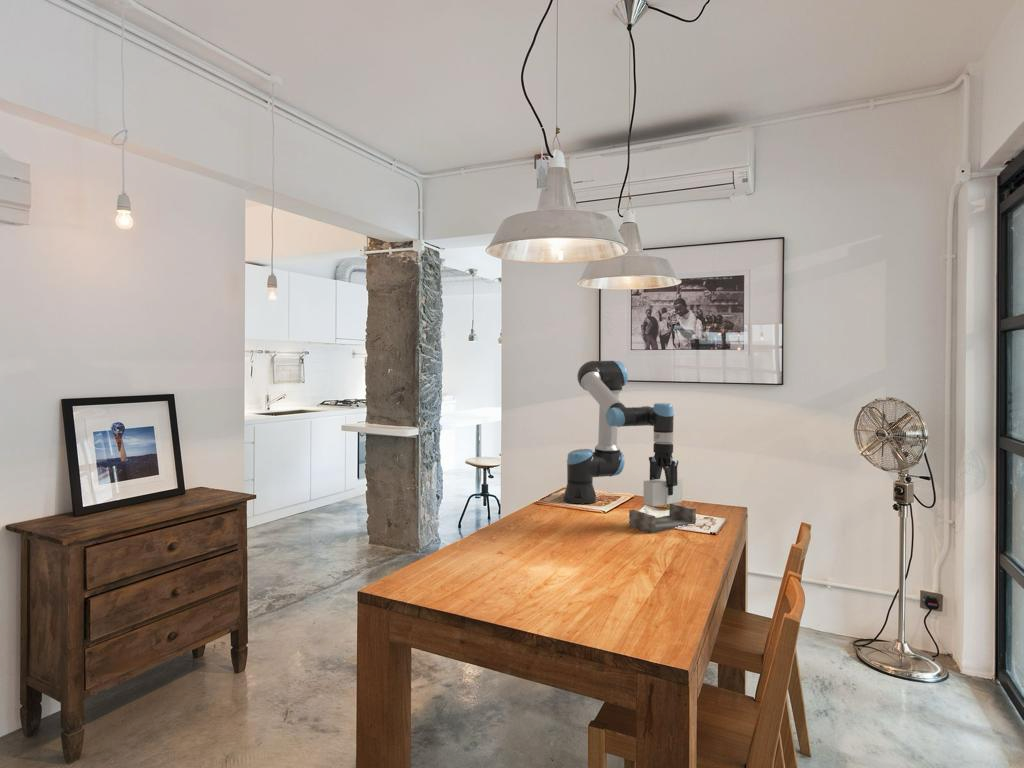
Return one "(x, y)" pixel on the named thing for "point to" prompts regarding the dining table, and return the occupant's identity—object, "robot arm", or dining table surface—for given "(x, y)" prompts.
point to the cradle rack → (663, 519)
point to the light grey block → (660, 492)
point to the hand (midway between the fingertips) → (663, 501)
